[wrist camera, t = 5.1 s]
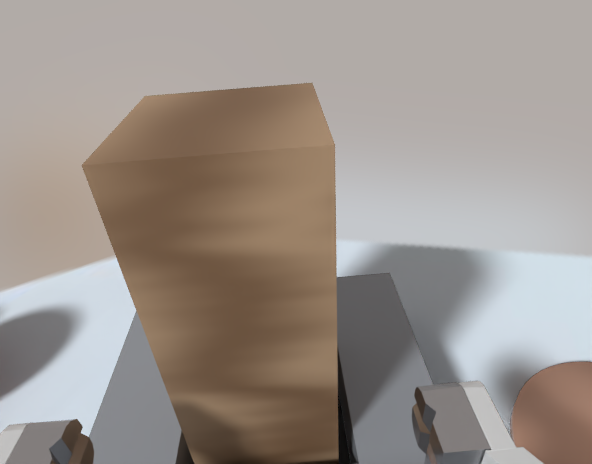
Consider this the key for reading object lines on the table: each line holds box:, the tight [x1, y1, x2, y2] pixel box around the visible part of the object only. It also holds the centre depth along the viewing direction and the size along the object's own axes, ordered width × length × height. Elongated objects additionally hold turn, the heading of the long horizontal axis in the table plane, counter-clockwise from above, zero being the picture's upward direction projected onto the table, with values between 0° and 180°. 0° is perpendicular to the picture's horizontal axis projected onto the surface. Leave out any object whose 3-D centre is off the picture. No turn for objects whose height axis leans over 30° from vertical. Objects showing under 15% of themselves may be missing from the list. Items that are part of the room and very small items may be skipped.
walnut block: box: [82, 83, 339, 464], centre depth 14 cm, size 5×5×14 cm
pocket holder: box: [89, 273, 433, 464], centre depth 17 cm, size 13×13×3 cm
